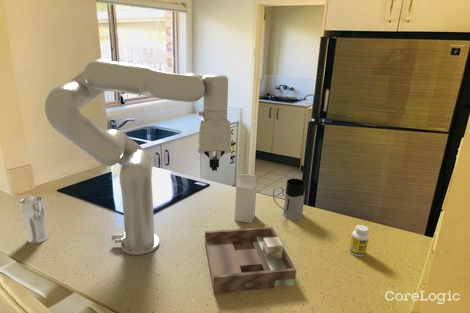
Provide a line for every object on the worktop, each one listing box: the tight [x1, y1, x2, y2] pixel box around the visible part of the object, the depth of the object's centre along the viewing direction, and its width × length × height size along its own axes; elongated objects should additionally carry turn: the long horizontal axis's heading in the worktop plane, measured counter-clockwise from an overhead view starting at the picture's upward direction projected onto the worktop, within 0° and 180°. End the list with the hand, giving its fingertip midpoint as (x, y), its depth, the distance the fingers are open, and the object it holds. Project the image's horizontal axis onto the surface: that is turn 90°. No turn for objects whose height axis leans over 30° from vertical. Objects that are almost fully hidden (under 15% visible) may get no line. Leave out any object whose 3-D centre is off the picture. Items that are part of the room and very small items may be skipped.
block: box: [263, 236, 284, 260], centre depth 105 cm, size 5×5×5 cm
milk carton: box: [234, 173, 258, 224], centre depth 130 cm, size 7×7×19 cm
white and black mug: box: [272, 178, 307, 221], centre depth 134 cm, size 9×14×15 cm, turn 107°
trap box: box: [204, 226, 297, 295], centre depth 104 cm, size 24×24×6 cm
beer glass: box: [19, 195, 49, 245], centre depth 111 cm, size 7×7×15 cm
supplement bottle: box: [348, 224, 370, 257], centre depth 112 cm, size 5×5×10 cm
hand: (214, 169), depth 109 cm, fingers closed
